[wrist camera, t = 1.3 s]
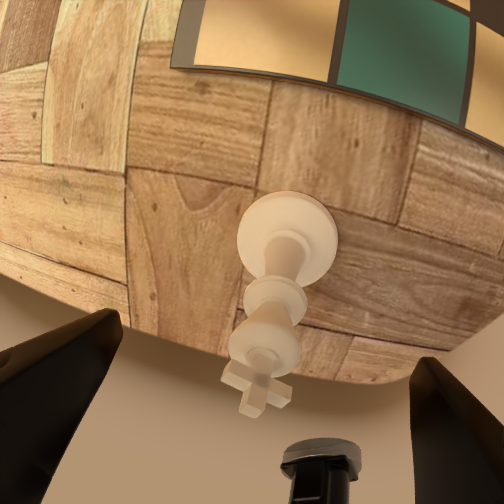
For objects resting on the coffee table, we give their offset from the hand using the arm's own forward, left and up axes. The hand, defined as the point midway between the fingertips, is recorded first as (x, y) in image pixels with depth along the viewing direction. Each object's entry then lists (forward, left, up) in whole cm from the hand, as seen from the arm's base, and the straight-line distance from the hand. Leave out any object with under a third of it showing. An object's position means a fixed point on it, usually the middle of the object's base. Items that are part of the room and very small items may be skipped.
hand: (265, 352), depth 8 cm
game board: (+20, -19, -8) cm, 29 cm away
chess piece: (0, 0, -8) cm, 8 cm away
